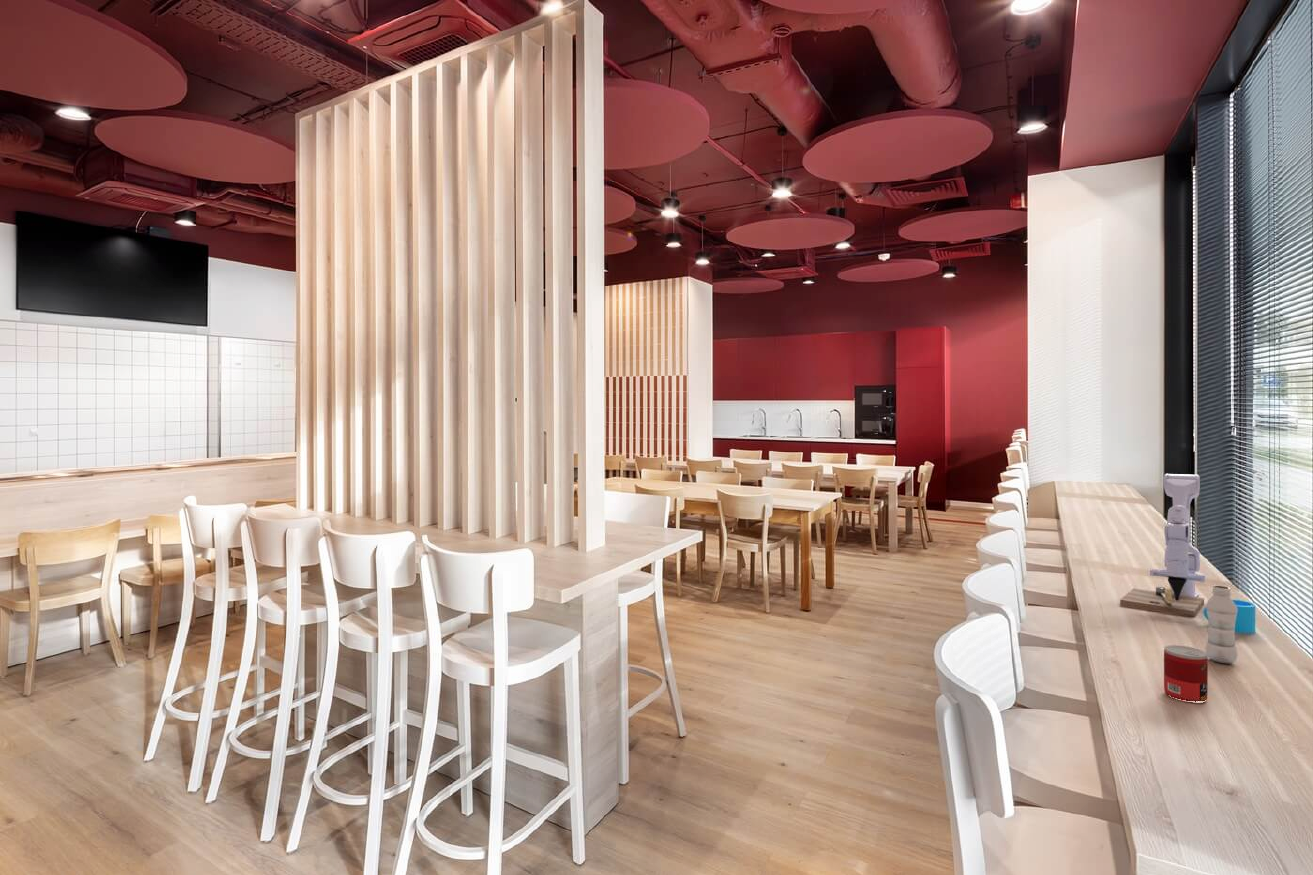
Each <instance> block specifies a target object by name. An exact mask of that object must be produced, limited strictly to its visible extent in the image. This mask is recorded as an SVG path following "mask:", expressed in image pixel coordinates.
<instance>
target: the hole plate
mask: <svg viewBox="0 0 1313 875" xmlns="http://www.w3.org/2000/svg"><path fill="white" fill-rule="evenodd" d="M1119 603H1120V604H1119V606H1121V605H1122V606H1121V607H1127V606H1128V607H1129V608H1134V609H1139V610H1140V609H1141V610H1142V609H1143V610H1147V611H1153V612H1159V613H1166V614H1173V615H1177V616H1178V615H1179V616H1184V617H1185V616H1186V617H1192V618H1196V616H1197V615H1198V613H1199V612H1200V611H1201V609H1202V607H1203V606H1204V605H1205V598H1204V597H1198V596H1197V597H1192V596H1185V595H1180V597H1179V600H1178V601H1176V600H1175V595H1174V594H1172V604H1168V603H1167V602H1166V601H1165V600H1164V598H1163V597H1162V596H1161V595H1158V594H1156V590H1155V591H1154V590H1149V589H1148V590H1147V589H1143V588H1142V589H1141V588H1132V589H1131V590H1130V591H1128V592H1127V593H1126V594H1125V595H1123V597H1122V598H1120V600H1119Z"/></svg>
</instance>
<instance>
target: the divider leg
mask: <svg viewBox="0 0 1313 875" xmlns="http://www.w3.org/2000/svg"><path fill="white" fill-rule="evenodd" d="M1155 591H1156V594H1158V595H1161V596H1162V597H1163V598H1164V600H1165V601H1166V602H1167V603H1168V604H1172V589H1171V588H1170V587H1169V586H1163V587H1162V586H1156V587H1155Z"/></svg>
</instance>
